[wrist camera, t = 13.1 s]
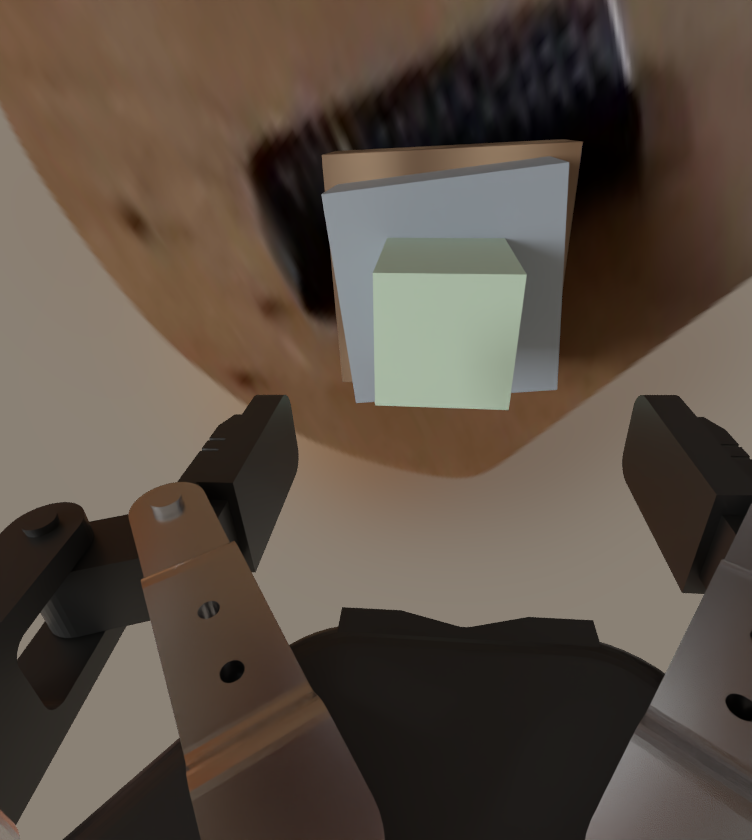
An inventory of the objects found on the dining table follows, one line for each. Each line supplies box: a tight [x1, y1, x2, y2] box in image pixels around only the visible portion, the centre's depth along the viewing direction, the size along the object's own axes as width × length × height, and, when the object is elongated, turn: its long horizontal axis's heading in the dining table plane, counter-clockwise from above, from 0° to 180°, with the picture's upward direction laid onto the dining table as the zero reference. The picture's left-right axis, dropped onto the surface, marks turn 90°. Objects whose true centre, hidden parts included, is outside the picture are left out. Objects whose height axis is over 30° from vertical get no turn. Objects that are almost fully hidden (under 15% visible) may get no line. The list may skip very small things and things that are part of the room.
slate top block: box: [321, 156, 569, 403], centre depth 25 cm, size 10×10×4 cm
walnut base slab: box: [322, 139, 583, 382], centre depth 29 cm, size 12×12×4 cm
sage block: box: [373, 238, 527, 410], centre depth 20 cm, size 5×5×6 cm
